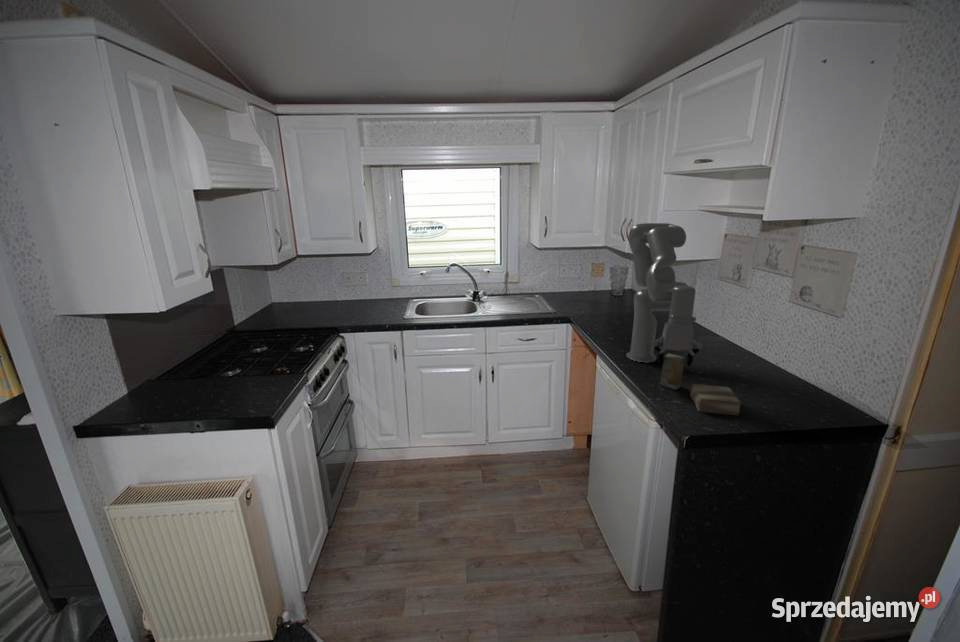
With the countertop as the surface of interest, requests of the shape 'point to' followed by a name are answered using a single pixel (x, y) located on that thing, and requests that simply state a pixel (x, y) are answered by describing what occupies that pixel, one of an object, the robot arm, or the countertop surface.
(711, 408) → the birch block
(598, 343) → the countertop surface
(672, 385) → the skincare box
